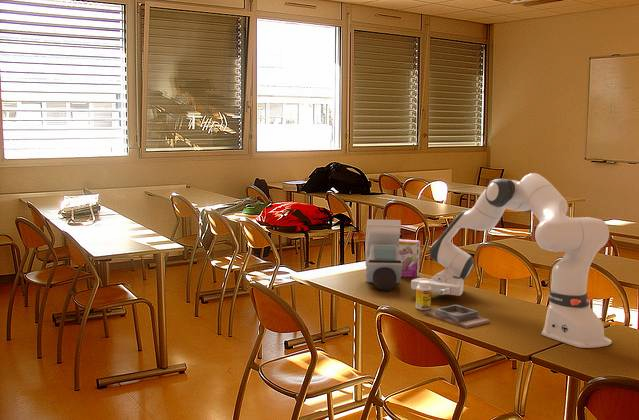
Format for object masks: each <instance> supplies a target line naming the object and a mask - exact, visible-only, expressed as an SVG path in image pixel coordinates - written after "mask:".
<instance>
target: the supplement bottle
mask: <svg viewBox="0 0 639 420" xmlns="http://www.w3.org/2000/svg"><path fill="white" fill-rule="evenodd" d="M429 285H430V284H429V281H419V286H417V287H416V290H415V291H416V292H415V308H416V309H417V310H420V311H429V310H431V304H432V292H431V287H430V286H429Z"/></svg>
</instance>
